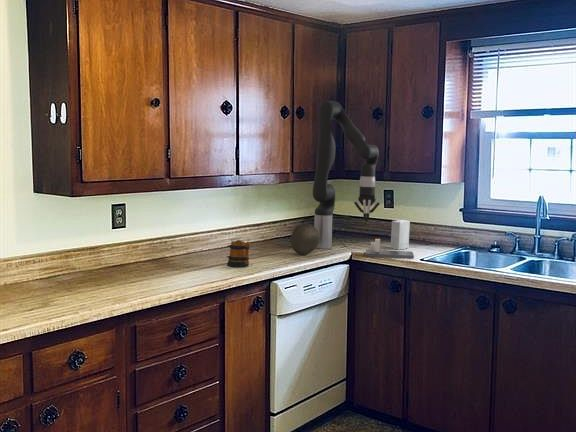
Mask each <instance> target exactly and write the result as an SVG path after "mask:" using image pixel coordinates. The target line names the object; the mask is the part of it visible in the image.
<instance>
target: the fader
mask: <svg viewBox="0 0 576 432" xmlns="http://www.w3.org/2000/svg"><path fill="white" fill-rule="evenodd" d="M374 242H375V252H380V250H381V238H375V239H374Z"/></svg>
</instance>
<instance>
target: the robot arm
mask: <svg viewBox="0 0 576 432" xmlns="http://www.w3.org/2000/svg"><path fill="white" fill-rule="evenodd" d="M332 120H334V121H335V122H336V123H338V125H339V126H341V129H342V132H343V134H344V137H345V138H346V139H347V141H349V142H350V144H351V145H352V146H353V148H354V150H355V152H356V154H357V155H358V156H359V157H360V158H361V159H362V160H363V159H364V160H365V162H364V163H363V164H361V167H360V178H359V196H358V198H357V200H355V201H354V203H353V204H354V205H355V207H356V208H357V209H358V211H359V212H360V213H362V215H363V220H364V222H368V221H369V220H370V214H372V213H374V211H375V210H376V209H377V208H378V207H379V206H380V202H379V201H378V200H376V166H377V164H378V161H379V160H378V159H379V157H380V151H379V148H378V146H377V145H375V144H367V142H366V140H367V139H366V137H365V135H364V134H363V133H362V132H361V131H360V130H359V129H358V128H357V127H356V125H355V124H354V123H353V122H352V120H351V119H350V117H349V116H348V114H347V113H346V110H345V109H344V108H343V106H342V105H341V104H340V102H338V101H336V100H323V101H321V103H320V104H319V107H318V134H317V135H318V136H317V137H318V140H317V149H316V150H317V151H316V164H315V174H314V181H313V186H312V197H313V199H314V201H316V202H318V203H319V204H318V206H317V207H316V208H315V209H314V222H313V223H314V225H313V226H314V227H315V228H316V229H317V230H318V232H319V235H320V240H319V244H318V246H317V247H316V248H315V249H321V250H322V249H323V250H324V249H325V250H326V249H327V250H328V249H331V248H332V243H333V242H332V239H333V213H334V210H335V203H336V189H335V187H334V185H332V184H331V183H328V177H329V173H330V170H331V168H332V167H333V165H334V162H335V158H336V141H335V138H334V135H333V133H332ZM360 205H361V206H362V207H363V208H362V207H361V206H360ZM373 205H374V206H373ZM372 206H373V207H372ZM371 207H372V208H371Z"/></svg>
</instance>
